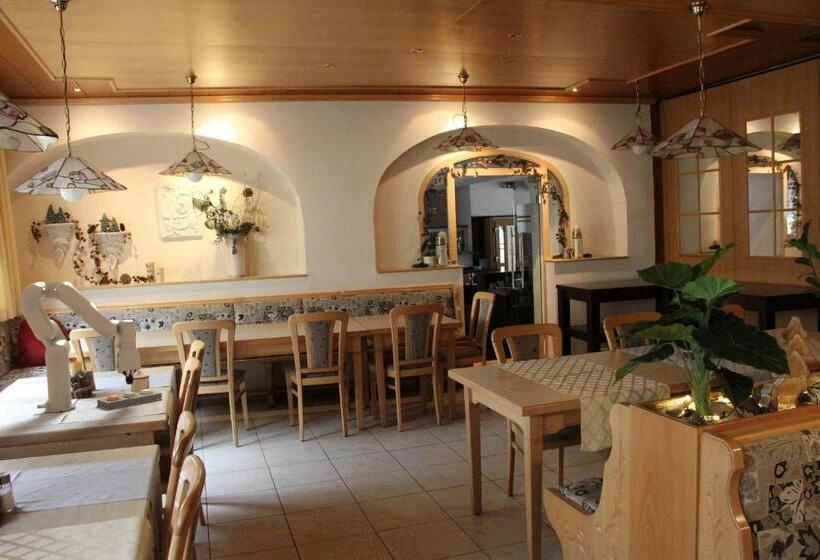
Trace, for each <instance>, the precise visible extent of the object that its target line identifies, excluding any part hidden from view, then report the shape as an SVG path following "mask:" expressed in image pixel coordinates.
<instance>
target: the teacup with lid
mask: <svg viewBox="0 0 820 560" xmlns="http://www.w3.org/2000/svg"><path fill="white" fill-rule="evenodd" d="M144 389H150V375H149V374H148V373H145V372H142V370H139V371H136V372H135V373H134V375H133V384H130V392H135V393H136V392H140V391H141V390H144Z"/></svg>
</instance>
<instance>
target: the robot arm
mask: <svg viewBox="0 0 820 560" xmlns="http://www.w3.org/2000/svg"><path fill="white" fill-rule="evenodd" d="M54 300H55V301H56V300H58V301H60V303H62V304H63V305H64V306H65V307H67V308H68V309H69V310H71V312H73V313H74V314H75V315H77V316H78V318H79V319H81V320H82V321H83V322H85V324H87V325H88V326H89V327H90V328H92V329H93V330H94V331H95V332H96V333H97V334H99V335H100V336H101V337H103V338H105V339H111V338H113V337H115V336H118V339H117V340H118V344H115V348H117V352H116V353H117V354H116V369H117V371H116V372H117V374H120V375H121V374H122V375H124V376H125V377H124V378H125V383H126V385H128V386H129V385H130V386H131V384H133V375H134V374H136V373H137V371H141V367H142V362H141V355H140V350H139V347H137V341H136V340H137V339H136V326H135V325H136V324H135V320H133V319H123V320H122V319H121V320H110V319H108V317H106V316H105V315H104V314H103V313H101V312H100V311H99V310H98V308H97V307H96V306H95V304H94V303H93V302H92V301H91V300H90V299H89V298H88V297H86V296H85V295H84V294H83V293H81V292H80V291H79V290H78V289H77V288H76V287H75V285H74V284H73V283H71V282H68V281H36V282H31V283H30V284H28V285H27V286H25V288H24V289H23V290H22V292H21V293H20V295H19V299H18V306H19V310H20V311H21V313H22V315H23V317H24V319H25V320H26V323H27V324H28V326H29V327H30V329H31V331H32V333H33V334H34V336H35V338H36V339H37V340H38V341H39V342H42V344H43V345H44V347H45V351H44V358H45V359H44V361H45V367H46V368H45V369H46V381H47V396H48V400H46V401H45V402H44V403H40V404H37V405H36V409H38V410H39V409H44V411H45V412H46V413H61V412H60V411H63V412H68V411H71V410H74V409H75V408H76V406H77V405H75V404H73V401H72V390H71V389H72V388H71V385H72V384H71V369H70V358H69V357H70V352H71V344H70V343H69V341H68V339H67V337H66V336H65V335H64V333H63V331H62V329H61V327H60V326H59V325H58V323H57V322H56V321H54V320H53V319H50V317H49V316H48V314H47V312H46V311H45V309H44V307H43V306H42V303H41V301H54ZM67 410H68V411H67Z"/></svg>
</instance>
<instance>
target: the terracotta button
mask: <svg viewBox="0 0 820 560" xmlns="http://www.w3.org/2000/svg"><path fill="white" fill-rule="evenodd" d="M119 396H120V395H119V394H112V395H108V396H107V397H106V398H107V401H114V400H119Z"/></svg>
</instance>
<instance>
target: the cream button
mask: <svg viewBox="0 0 820 560" xmlns="http://www.w3.org/2000/svg"><path fill="white" fill-rule="evenodd" d="M151 390H152V389H151V388H149V389H144V390H141V391H140V393H141V395H146V394H152V393H151Z"/></svg>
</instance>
